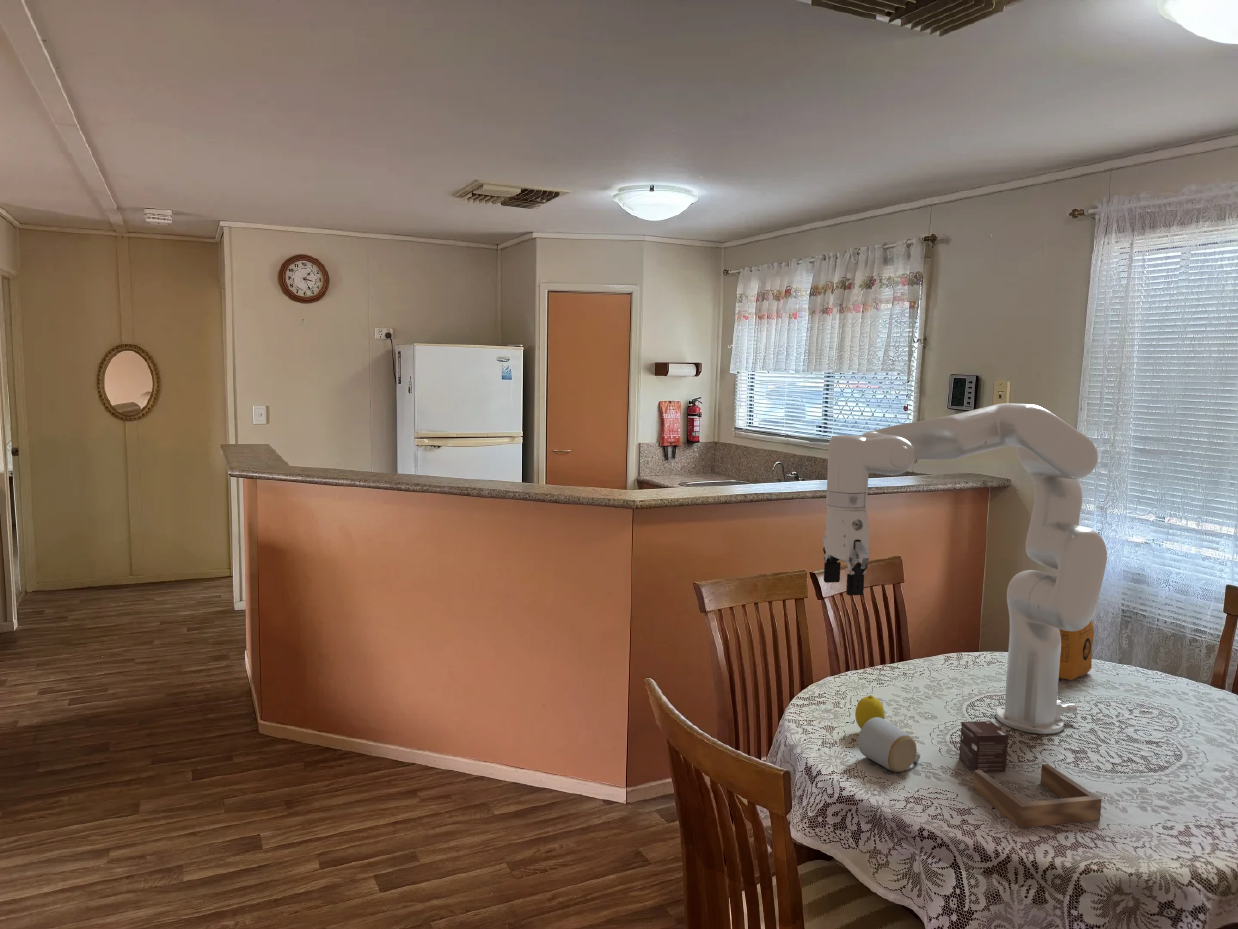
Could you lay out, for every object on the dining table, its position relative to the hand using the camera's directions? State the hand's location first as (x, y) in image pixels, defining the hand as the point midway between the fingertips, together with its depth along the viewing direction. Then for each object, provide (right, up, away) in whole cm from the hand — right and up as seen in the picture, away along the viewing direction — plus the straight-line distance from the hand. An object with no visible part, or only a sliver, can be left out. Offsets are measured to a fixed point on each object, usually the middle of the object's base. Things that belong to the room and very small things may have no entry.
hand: (842, 588), depth 160 cm
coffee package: (+65, -27, +41) cm, 81 cm away
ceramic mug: (+7, -31, -7) cm, 33 cm away
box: (+23, -32, -8) cm, 40 cm away
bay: (+26, -33, -21) cm, 47 cm away
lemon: (+7, -30, +5) cm, 31 cm away
